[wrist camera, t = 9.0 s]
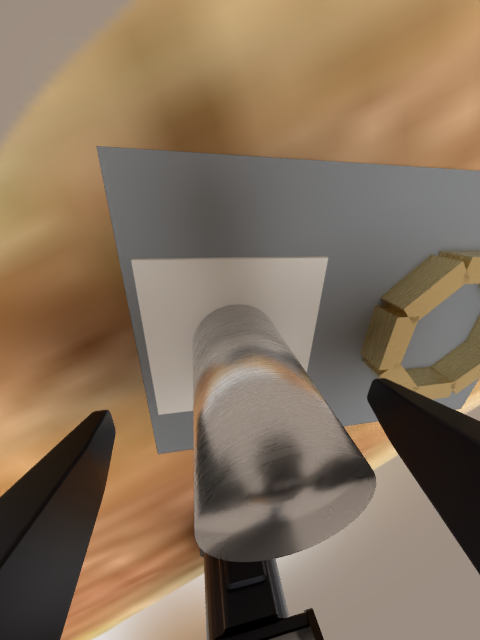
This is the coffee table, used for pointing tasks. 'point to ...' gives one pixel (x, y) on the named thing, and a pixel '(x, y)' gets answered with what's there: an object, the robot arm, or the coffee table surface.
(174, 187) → the board
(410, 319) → the brass octagonal ring
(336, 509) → the peg
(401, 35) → the coffee table surface
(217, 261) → the mat
